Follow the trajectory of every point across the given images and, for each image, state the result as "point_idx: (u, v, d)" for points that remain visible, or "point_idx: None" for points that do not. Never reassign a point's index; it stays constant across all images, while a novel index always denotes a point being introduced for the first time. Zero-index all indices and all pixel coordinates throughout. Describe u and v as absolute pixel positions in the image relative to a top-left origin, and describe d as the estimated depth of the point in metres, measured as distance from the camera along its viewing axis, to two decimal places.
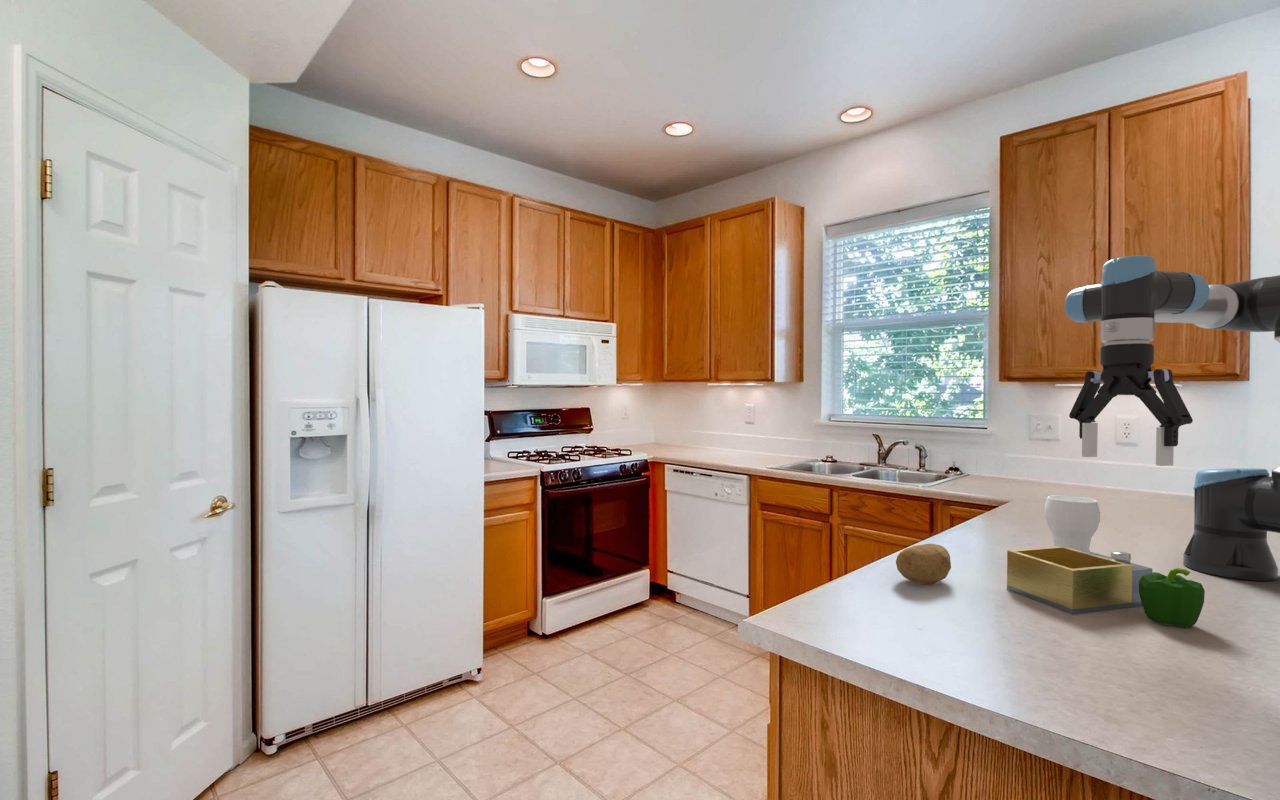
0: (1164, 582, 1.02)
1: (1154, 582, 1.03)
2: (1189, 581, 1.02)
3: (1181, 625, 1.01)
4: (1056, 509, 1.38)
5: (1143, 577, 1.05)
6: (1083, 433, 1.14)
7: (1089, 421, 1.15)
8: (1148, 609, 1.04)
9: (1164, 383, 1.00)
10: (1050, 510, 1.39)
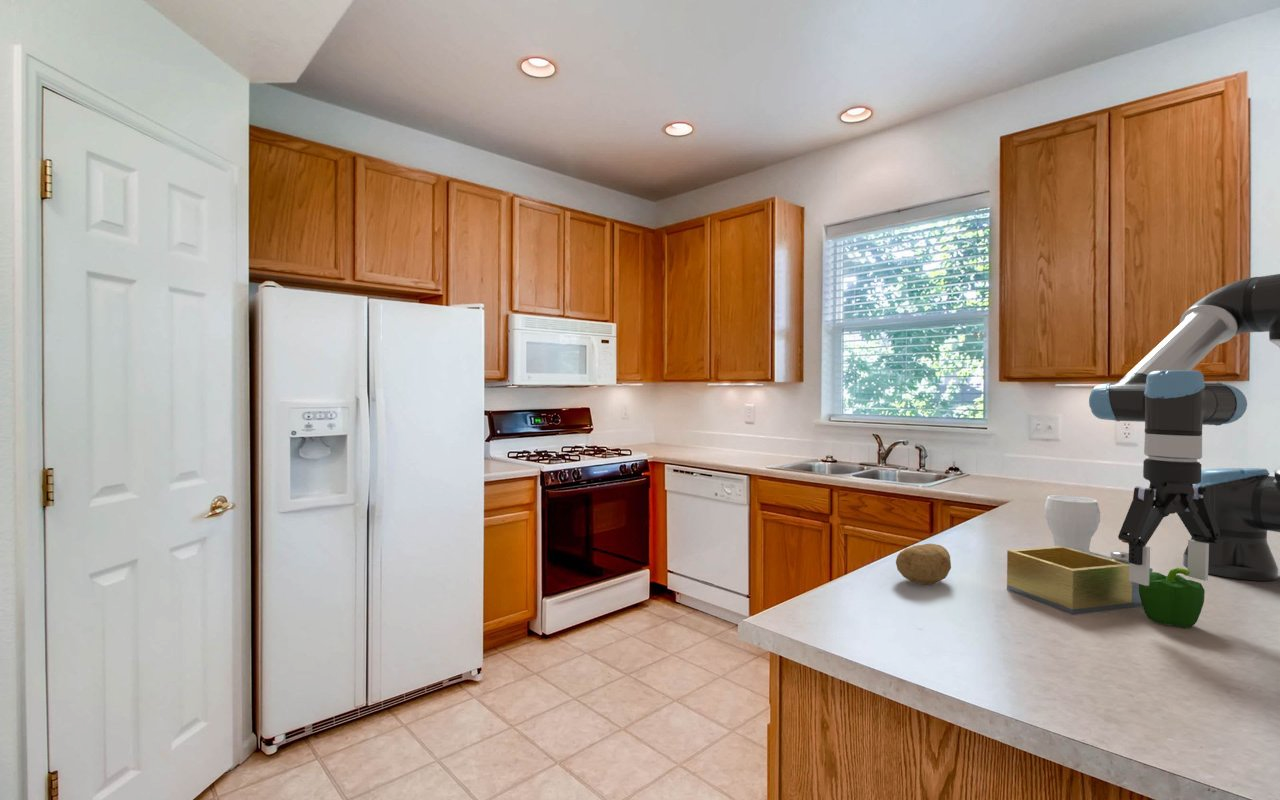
0: (1164, 582, 1.02)
1: (1154, 582, 1.03)
2: (1189, 581, 1.02)
3: (1181, 625, 1.01)
4: (1056, 509, 1.38)
5: None
6: None
7: (1201, 540, 1.05)
8: (1148, 609, 1.04)
9: (1134, 501, 1.02)
10: (1050, 510, 1.39)
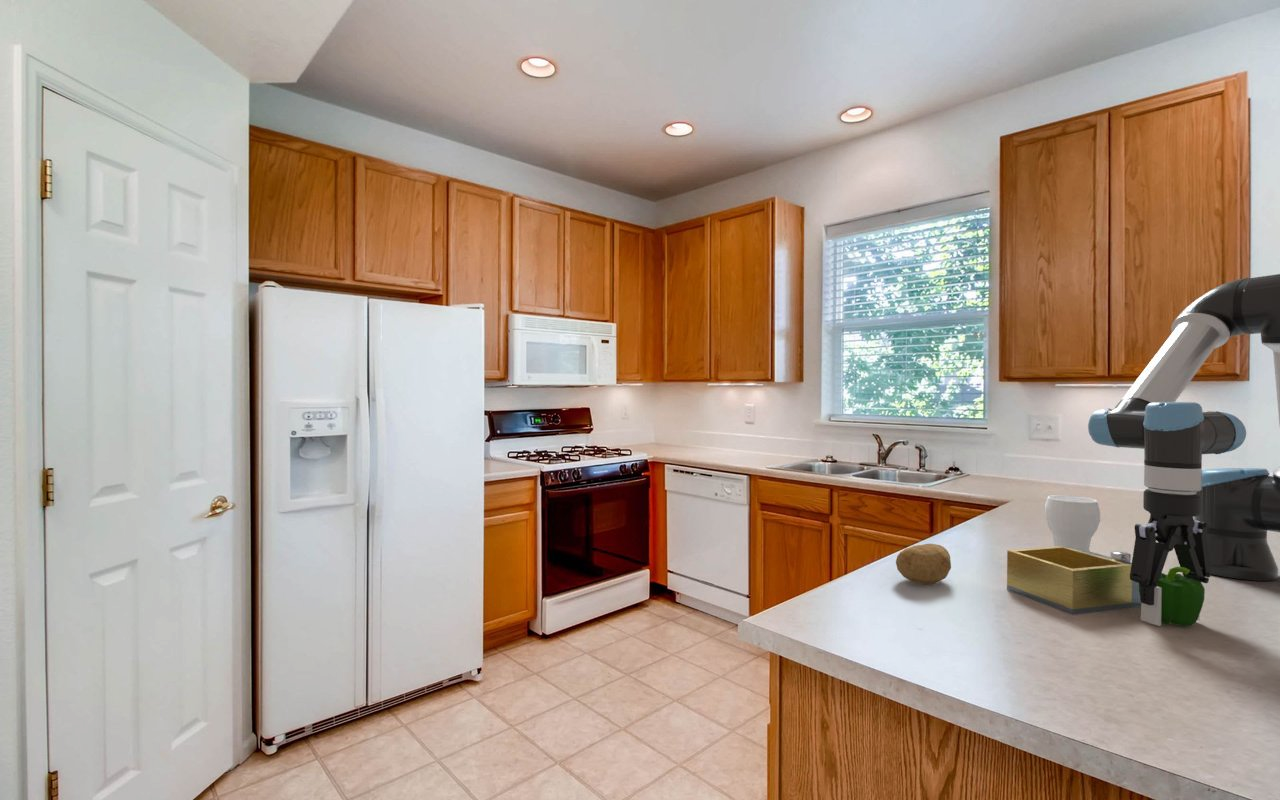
0: (1164, 581, 1.02)
1: None
2: (1189, 580, 1.02)
3: (1181, 624, 1.01)
4: (1056, 509, 1.38)
5: None
6: None
7: (1192, 578, 1.04)
8: None
9: (1137, 539, 1.02)
10: (1050, 510, 1.39)
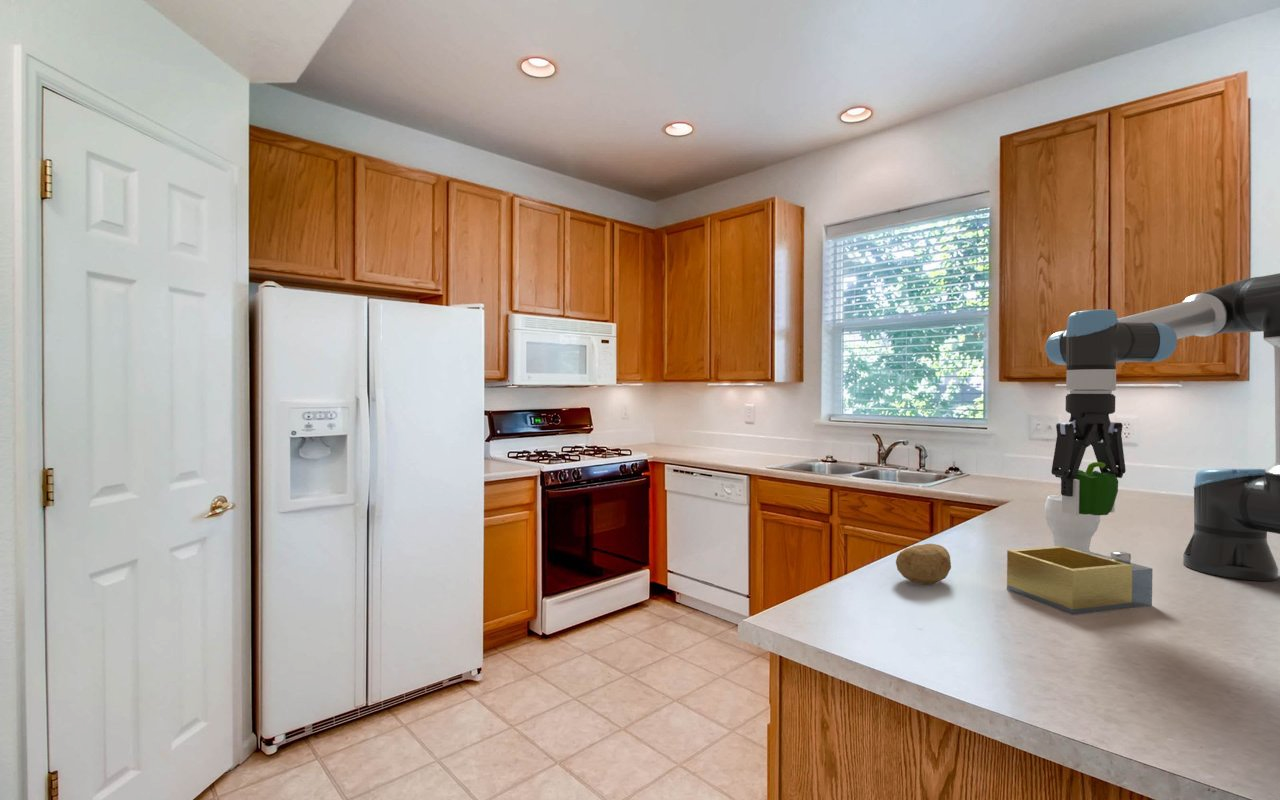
0: (1083, 474, 1.10)
1: None
2: (1105, 473, 1.11)
3: (1097, 513, 1.10)
4: (1056, 509, 1.38)
5: None
6: None
7: None
8: None
9: (1059, 436, 1.11)
10: (1050, 510, 1.39)
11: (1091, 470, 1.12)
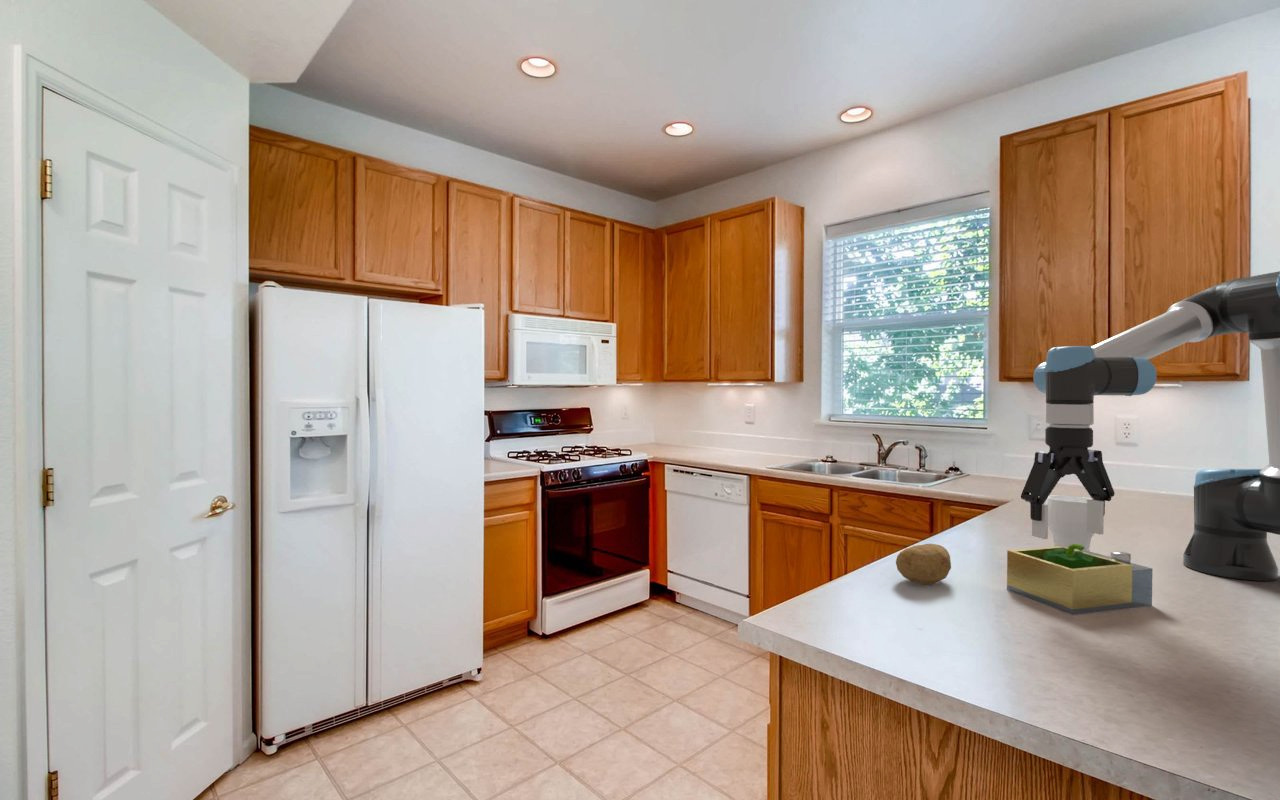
0: (1060, 556, 1.14)
1: (1052, 556, 1.15)
2: (1085, 556, 1.14)
3: None
4: (1056, 509, 1.38)
5: (1046, 551, 1.17)
6: None
7: (1097, 498, 1.17)
8: None
9: (1035, 464, 1.14)
10: (1050, 510, 1.39)
11: (1071, 551, 1.15)
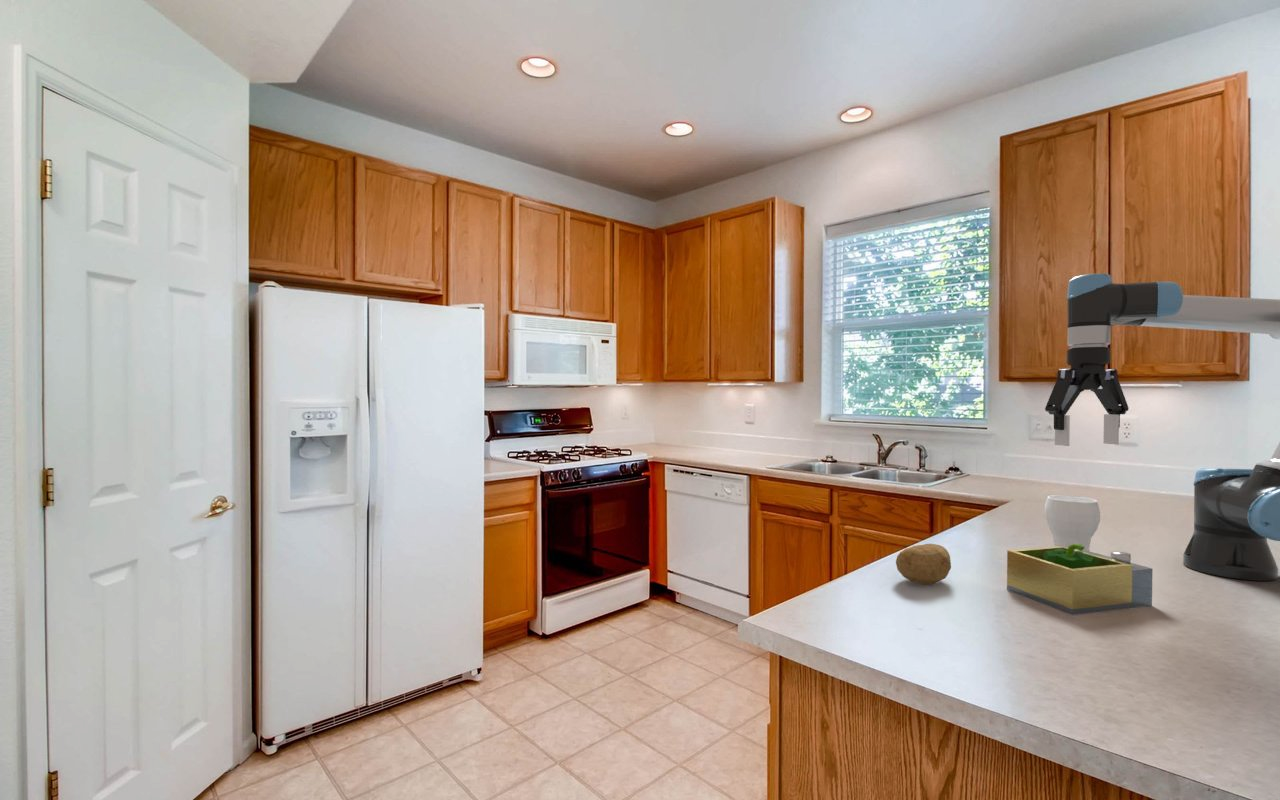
0: (1061, 556, 1.14)
1: (1052, 556, 1.15)
2: (1085, 556, 1.14)
3: None
4: (1056, 509, 1.38)
5: (1046, 551, 1.17)
6: None
7: (1113, 413, 1.30)
8: None
9: (1058, 380, 1.28)
10: (1050, 510, 1.39)
11: (1071, 551, 1.15)
